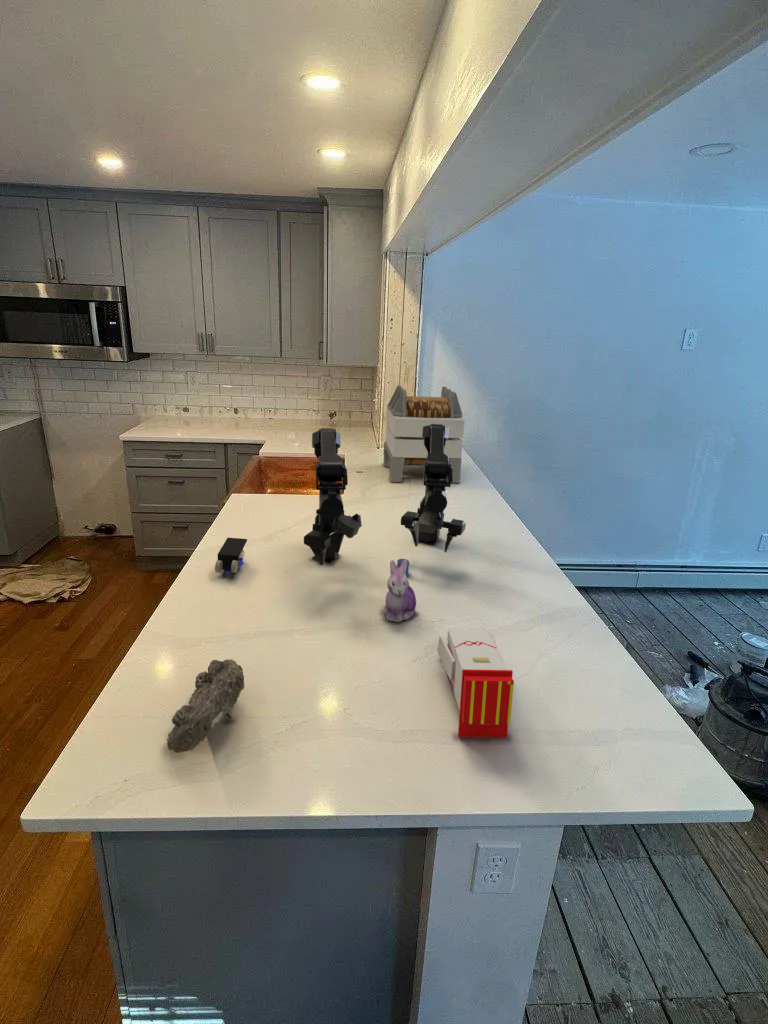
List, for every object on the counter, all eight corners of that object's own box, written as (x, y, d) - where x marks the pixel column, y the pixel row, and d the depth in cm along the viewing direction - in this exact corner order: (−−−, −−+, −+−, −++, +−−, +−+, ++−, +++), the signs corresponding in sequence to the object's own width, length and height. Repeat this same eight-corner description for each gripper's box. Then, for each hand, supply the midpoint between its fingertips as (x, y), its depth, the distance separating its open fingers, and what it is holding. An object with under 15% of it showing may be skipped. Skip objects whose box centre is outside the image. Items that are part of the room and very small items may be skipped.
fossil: (192, 660, 117) (244, 628, 112) (224, 691, 120) (276, 661, 115) (142, 746, 98) (202, 712, 93) (182, 779, 101) (242, 748, 96)
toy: (488, 613, 130) (523, 677, 101) (484, 667, 133) (517, 744, 104) (435, 612, 130) (455, 676, 101) (432, 666, 133) (451, 743, 103)
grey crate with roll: (382, 463, 289) (386, 382, 275) (445, 464, 293) (451, 384, 279) (390, 482, 257) (394, 392, 243) (460, 483, 261) (468, 394, 247)
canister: (394, 575, 168) (395, 562, 167) (399, 571, 172) (399, 557, 170) (405, 578, 167) (406, 564, 166) (409, 573, 170) (410, 560, 169)
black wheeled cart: (238, 584, 162) (249, 557, 175) (236, 562, 158) (247, 536, 172) (215, 584, 161) (227, 556, 175) (212, 561, 158) (225, 535, 171)
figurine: (392, 627, 141) (395, 572, 136) (374, 608, 149) (376, 556, 144) (425, 619, 145) (429, 566, 140) (405, 601, 154) (408, 550, 149)
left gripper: (341, 521, 141) (340, 578, 147) (371, 500, 158) (369, 552, 163) (302, 514, 145) (302, 569, 150) (335, 494, 161) (334, 544, 167)
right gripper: (395, 504, 163) (393, 553, 168) (459, 514, 157) (454, 565, 162) (408, 492, 173) (405, 539, 178) (468, 502, 167) (463, 550, 172)
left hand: (329, 558), depth 157 cm, fingers open, 9 cm apart
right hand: (430, 549), depth 172 cm, fingers open, 9 cm apart
